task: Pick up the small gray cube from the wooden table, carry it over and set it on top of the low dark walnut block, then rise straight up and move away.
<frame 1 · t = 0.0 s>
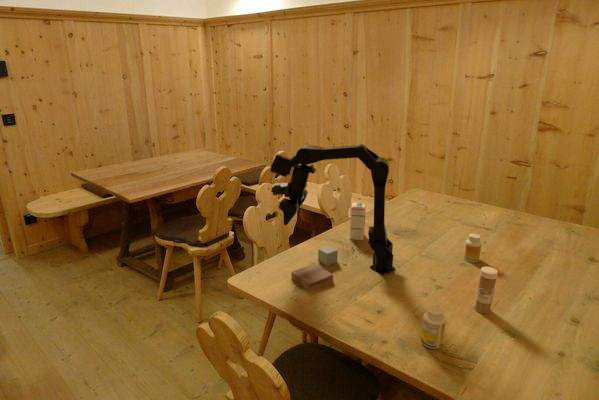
hand: (288, 220, 146), 15 cm above the table, tool pointing down, fingers open, 9 cm apart
supplement bottle 2: (470, 259, 151), on the table
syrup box: (356, 237, 170), on the table
walnut block: (312, 281, 137), on the table
supplement bottle: (431, 343, 107), on the table
gray cube: (327, 261, 150), on the table
sprinkles bottle: (482, 310, 121), on the table
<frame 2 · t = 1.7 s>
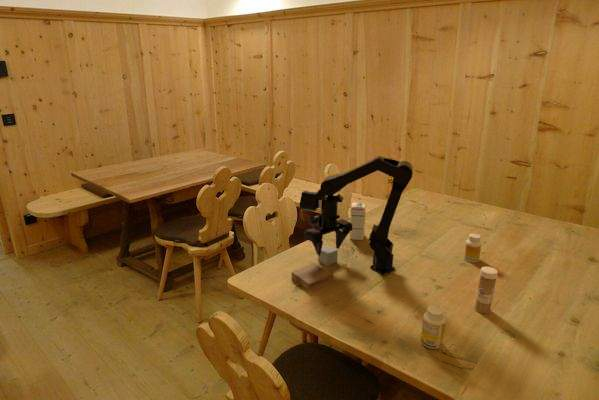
hand: (328, 251, 148), 4 cm above the table, tool pointing down, fingers open, 9 cm apart
nothing on the table moved.
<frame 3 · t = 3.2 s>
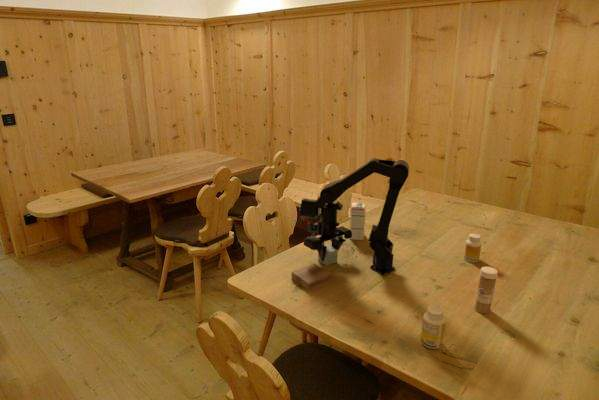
hand: (327, 258, 149), 1 cm above the table, tool pointing down, fingers closed on gray cube, 5 cm apart
gray cube: (327, 261, 150), on the table, touching gripper
everything else where it was.
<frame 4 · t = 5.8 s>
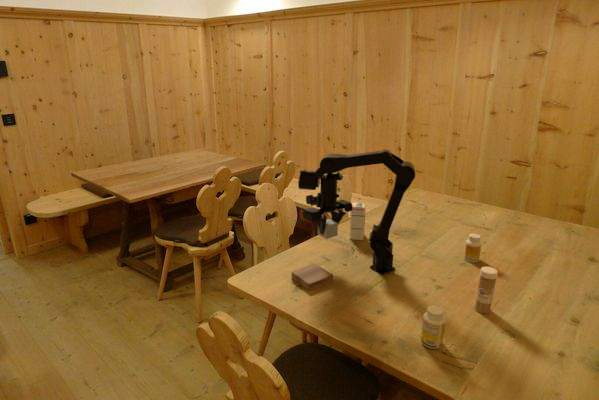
hand: (327, 232, 145), 12 cm above the table, tool pointing down, fingers closed on gray cube, 5 cm apart
gray cube: (327, 235, 145), point 11 cm above the table, touching gripper
everything else where it was.
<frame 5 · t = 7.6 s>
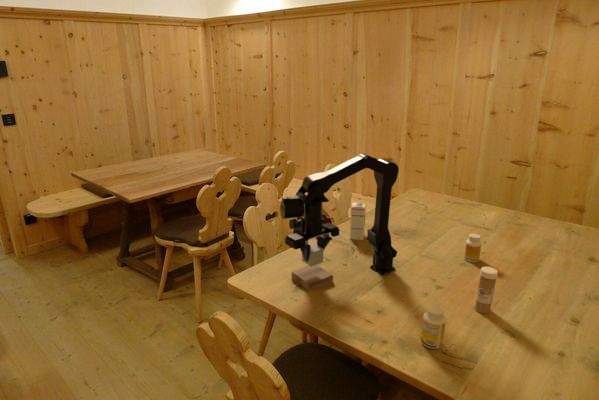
hand: (312, 258, 134), 8 cm above the table, tool pointing down, fingers closed on gray cube, 5 cm apart
gray cube: (312, 261, 135), point 7 cm above the table, touching gripper
everything else where it was.
when the fingers open (5 cm above the table, at t = 8.8 s): gray cube drops 2 cm, resting on walnut block.
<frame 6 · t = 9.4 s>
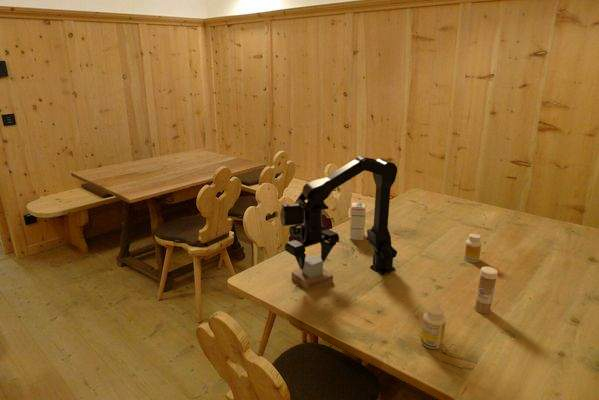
hand: (312, 265, 135), 5 cm above the table, tool pointing down, fingers open, 9 cm apart
walnut block: (312, 281, 137), on the table, touching gray cube
gray cube: (312, 273, 136), point 2 cm above the table, touching walnut block
everything else where it was.
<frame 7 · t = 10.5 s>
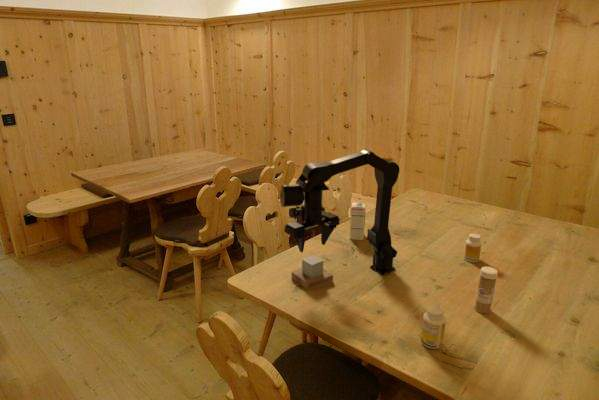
hand: (312, 248, 133), 12 cm above the table, tool pointing down, fingers open, 9 cm apart
nothing on the table moved.
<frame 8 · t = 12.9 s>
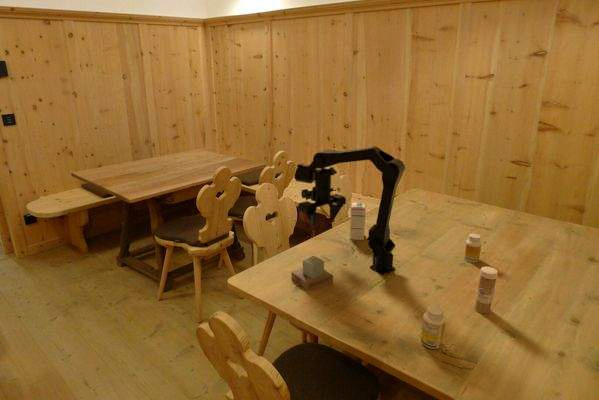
hand: (322, 225, 151), 12 cm above the table, tool pointing down, fingers open, 9 cm apart
walnut block: (311, 281, 137), on the table
gray cube: (313, 273, 136), point 2 cm above the table
everything else where it was.
at the end: gray cube 0.5 cm off-centre on the walnut block, point 3.0 cm above the walnut block's base; gray cube tilted 0°; the gripper is holding nothing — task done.
